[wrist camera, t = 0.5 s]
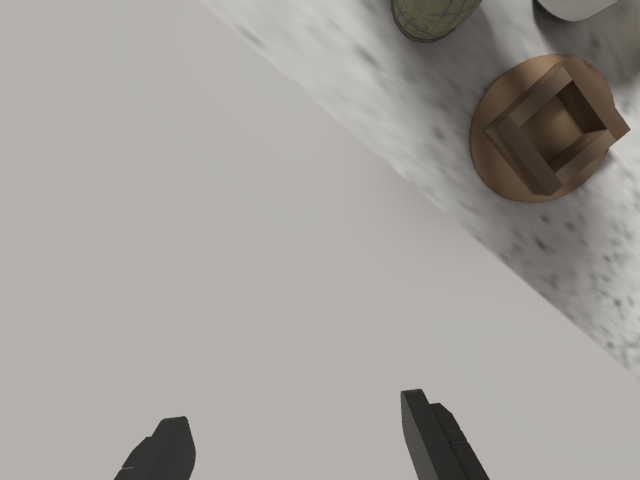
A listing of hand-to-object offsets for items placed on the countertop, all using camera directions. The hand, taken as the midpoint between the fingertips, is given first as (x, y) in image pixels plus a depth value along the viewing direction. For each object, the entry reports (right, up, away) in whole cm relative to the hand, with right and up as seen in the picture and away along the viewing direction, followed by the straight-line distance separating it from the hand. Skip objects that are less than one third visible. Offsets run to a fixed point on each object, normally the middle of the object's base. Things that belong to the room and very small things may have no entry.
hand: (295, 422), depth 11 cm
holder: (+28, +20, +26) cm, 43 cm away
